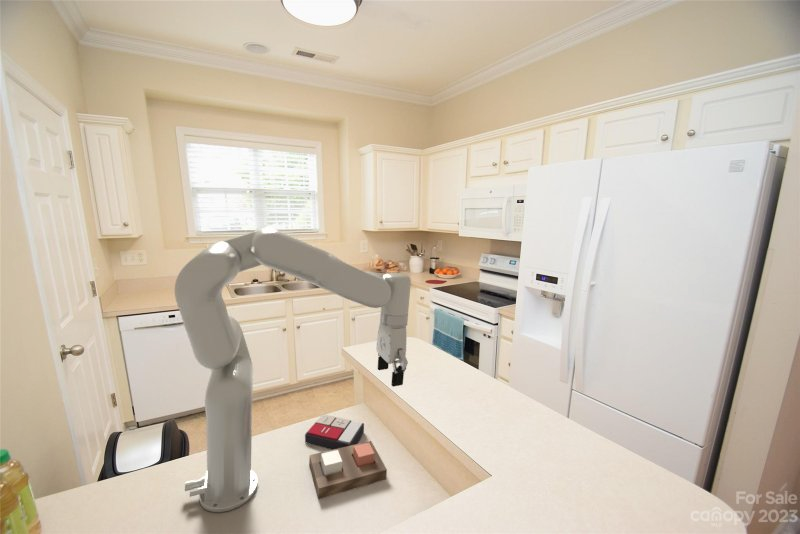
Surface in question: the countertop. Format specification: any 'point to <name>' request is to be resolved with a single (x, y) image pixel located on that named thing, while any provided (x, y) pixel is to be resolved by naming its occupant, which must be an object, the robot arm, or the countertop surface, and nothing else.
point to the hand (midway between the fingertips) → (389, 376)
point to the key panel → (346, 472)
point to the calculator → (334, 432)
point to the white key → (331, 463)
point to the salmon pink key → (363, 454)
